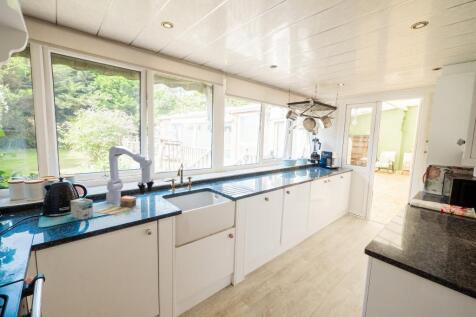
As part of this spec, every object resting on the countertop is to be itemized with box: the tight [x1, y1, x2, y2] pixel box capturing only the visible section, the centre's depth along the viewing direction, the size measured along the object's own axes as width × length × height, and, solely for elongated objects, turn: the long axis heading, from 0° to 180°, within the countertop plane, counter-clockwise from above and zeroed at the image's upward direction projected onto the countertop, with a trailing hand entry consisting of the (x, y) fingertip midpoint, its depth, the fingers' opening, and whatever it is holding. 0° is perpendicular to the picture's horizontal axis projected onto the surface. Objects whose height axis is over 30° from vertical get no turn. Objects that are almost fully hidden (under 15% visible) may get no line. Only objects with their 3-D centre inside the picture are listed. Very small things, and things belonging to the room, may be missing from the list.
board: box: [94, 205, 135, 216], centre depth 137 cm, size 18×14×1 cm
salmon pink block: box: [120, 195, 137, 202], centre depth 147 cm, size 9×5×3 cm, turn 78°
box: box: [119, 199, 137, 208], centre depth 148 cm, size 9×5×4 cm, turn 78°
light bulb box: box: [70, 197, 94, 220], centre depth 126 cm, size 11×7×11 cm, turn 71°
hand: (146, 192), depth 149 cm, fingers open, 7 cm apart
